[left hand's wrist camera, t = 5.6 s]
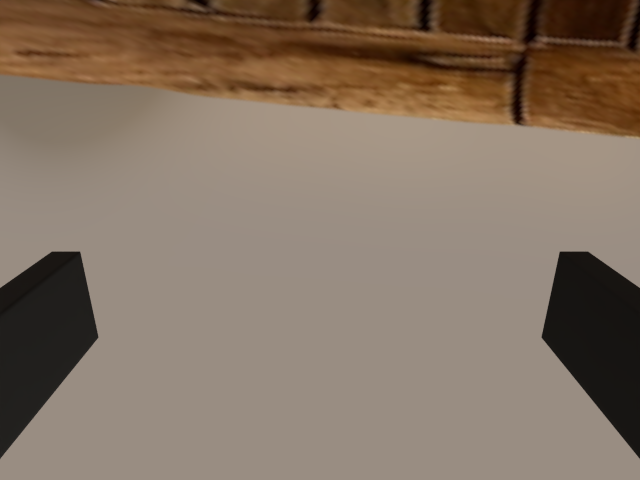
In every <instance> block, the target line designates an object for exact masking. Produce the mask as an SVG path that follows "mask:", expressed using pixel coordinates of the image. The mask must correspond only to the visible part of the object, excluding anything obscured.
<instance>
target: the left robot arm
mask: <svg viewBox="0 0 640 480" xmlns="http://www.w3.org/2000/svg"><path fill="white" fill-rule="evenodd" d="M97 338H98V333H97V329H96V324H95V319H94V314H93V310H92V305H91V300H90V296H89V291H88V286H87V282H86V277H85V272H84V268H83V263H82V258H81V254H80V252H51V253H50V254H48V255H47V256H45V257H44V258H42V259H41V260H40V261H38V262H37V263H35V264H34V265H32V266H31V267H30V268H28V269H27V270H25V271H24V272H22V273H21V274H20V275H18V276H17V277H15V278H14V279H12V280H11V281H10V282H8V283H7V284H5V285H4V286H2V287H1V288H0V458H1V457H2V456H3V455H4V453H5V452H6V451H7V450H8V448H9V447H10V446H11V445H12V443H13V442H14V441H15V440H16V438H17V437H18V436H19V435H20V434H21V432H22V431H23V430H24V429H25V427H26V426H27V425H28V424H29V422H30V421H31V420H32V419H33V418H34V416H35V415H36V414H37V413H38V411H39V410H40V409H41V408H42V406H43V405H44V404H45V403H46V401H47V400H48V399H49V398H50V397H51V395H52V394H53V393H54V391H55V390H56V389H57V388H58V387H59V385H60V384H61V383H62V382H63V380H64V379H65V378H66V377H67V375H68V374H69V373H70V372H71V371H72V369H73V368H74V367H75V366H76V364H77V363H78V362H79V361H80V359H81V358H82V357H83V356H84V354H85V353H86V352H87V351H88V350H89V348H90V347H91V346H92V345H93V343H94V342H95V341H96V340H97ZM542 339H543V340H544V341H545V342H546V343H547V345H548V346H549V347H550V348H551V350H552V351H553V352H554V353H555V354H556V356H557V357H558V358H559V359H560V361H561V362H562V363H563V364H564V366H565V367H566V368H567V369H568V371H569V372H570V373H571V374H572V376H573V377H574V378H575V379H576V380H577V382H578V383H579V384H580V385H581V387H582V388H583V389H584V390H585V392H586V393H587V394H588V395H589V396H590V398H591V399H592V400H593V401H594V403H595V404H596V405H597V406H598V408H599V409H600V410H601V411H602V412H603V414H604V415H605V416H606V418H607V419H608V420H609V421H610V422H611V424H612V425H613V426H614V427H615V429H616V430H617V431H618V432H619V434H620V435H621V436H622V437H623V438H624V440H625V441H626V442H627V443H628V445H629V446H630V447H631V448H632V450H633V451H634V452H635V453H636V455H637V456H638V457H639V458H640V288H639V287H638V286H636V285H635V284H633V283H632V282H630V281H629V280H628V279H626V278H625V277H623V276H622V275H620V274H619V273H618V272H616V271H615V270H613V269H612V268H610V267H609V266H608V265H606V264H605V263H603V262H602V261H600V260H599V259H598V258H596V257H595V256H593V255H592V254H590V253H589V252H560V253H559V258H558V263H557V268H556V272H555V277H554V282H553V286H552V291H551V296H550V301H549V305H548V310H547V314H546V319H545V324H544V329H543V333H542Z"/></svg>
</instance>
